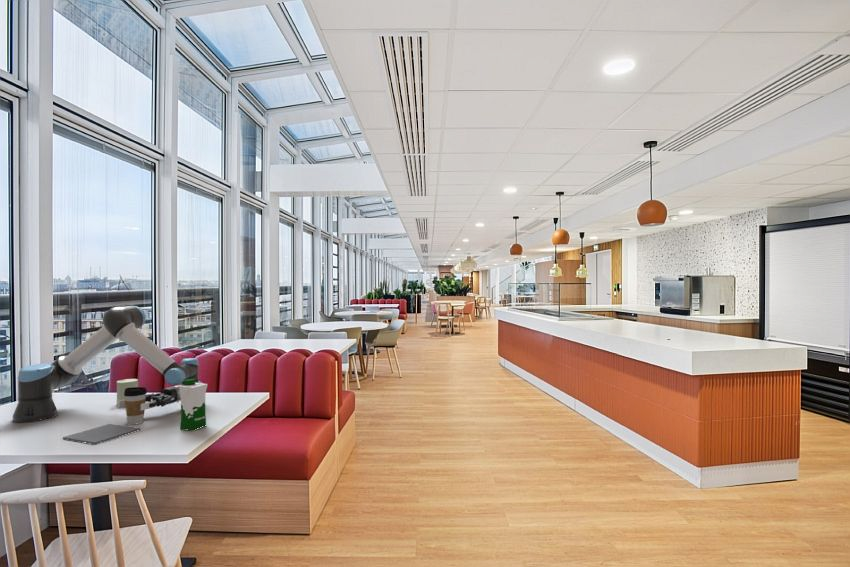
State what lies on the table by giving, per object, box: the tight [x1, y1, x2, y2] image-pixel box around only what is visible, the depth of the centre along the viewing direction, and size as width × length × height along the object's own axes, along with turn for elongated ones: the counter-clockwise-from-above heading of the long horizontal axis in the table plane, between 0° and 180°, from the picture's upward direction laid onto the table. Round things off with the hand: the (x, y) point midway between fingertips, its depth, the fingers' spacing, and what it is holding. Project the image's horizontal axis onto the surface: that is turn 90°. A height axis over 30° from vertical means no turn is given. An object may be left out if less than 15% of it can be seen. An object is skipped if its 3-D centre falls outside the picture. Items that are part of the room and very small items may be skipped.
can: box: [116, 378, 139, 404], centre depth 227 cm, size 9×9×12 cm
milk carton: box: [179, 379, 208, 431], centre depth 187 cm, size 9×9×20 cm
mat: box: [62, 423, 141, 445], centre depth 178 cm, size 18×18×1 cm
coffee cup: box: [124, 386, 148, 425], centre depth 194 cm, size 8×8×15 cm
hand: (129, 405), depth 192 cm, fingers open, 13 cm apart
